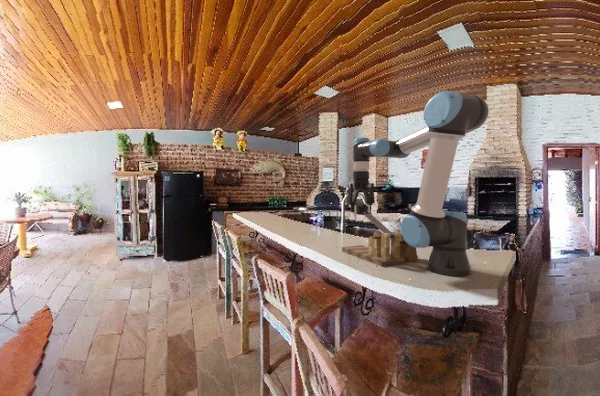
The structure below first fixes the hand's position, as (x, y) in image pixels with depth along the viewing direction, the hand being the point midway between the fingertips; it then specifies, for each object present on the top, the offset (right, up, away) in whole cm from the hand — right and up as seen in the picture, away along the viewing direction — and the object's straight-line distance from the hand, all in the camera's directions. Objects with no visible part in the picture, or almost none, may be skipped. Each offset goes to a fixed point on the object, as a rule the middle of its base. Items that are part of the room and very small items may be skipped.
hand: (360, 218), depth 144 cm
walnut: (+5, -9, -11) cm, 15 cm away
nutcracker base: (+3, -17, -6) cm, 19 cm away
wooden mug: (+20, -17, -10) cm, 28 cm away
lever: (+4, -2, -8) cm, 9 cm away
